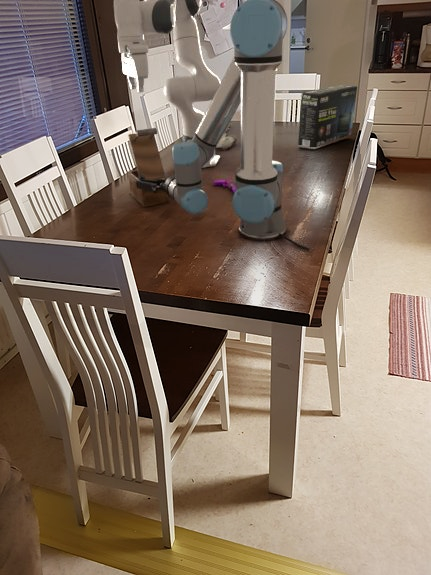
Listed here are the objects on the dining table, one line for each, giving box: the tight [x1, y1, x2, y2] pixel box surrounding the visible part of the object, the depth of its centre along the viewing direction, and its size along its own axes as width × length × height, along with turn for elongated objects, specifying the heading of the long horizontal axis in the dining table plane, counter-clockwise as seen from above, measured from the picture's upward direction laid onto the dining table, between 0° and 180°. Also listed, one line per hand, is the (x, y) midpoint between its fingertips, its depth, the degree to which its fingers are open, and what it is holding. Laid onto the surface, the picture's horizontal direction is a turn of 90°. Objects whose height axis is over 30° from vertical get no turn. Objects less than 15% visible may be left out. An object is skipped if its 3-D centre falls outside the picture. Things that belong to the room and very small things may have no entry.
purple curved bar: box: [212, 178, 235, 194], centre depth 184 cm, size 21×8×2 cm, turn 11°
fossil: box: [215, 132, 238, 151], centre depth 246 cm, size 18×11×15 cm
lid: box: [127, 127, 166, 180], centre depth 166 cm, size 18×10×9 cm
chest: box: [127, 169, 168, 208], centre depth 179 cm, size 17×10×9 cm, turn 26°
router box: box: [297, 84, 358, 151], centre depth 238 cm, size 36×11×27 cm, turn 134°
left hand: (136, 90), depth 161 cm, fingers open, 8 cm apart
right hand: (158, 173), depth 160 cm, fingers open, 13 cm apart
